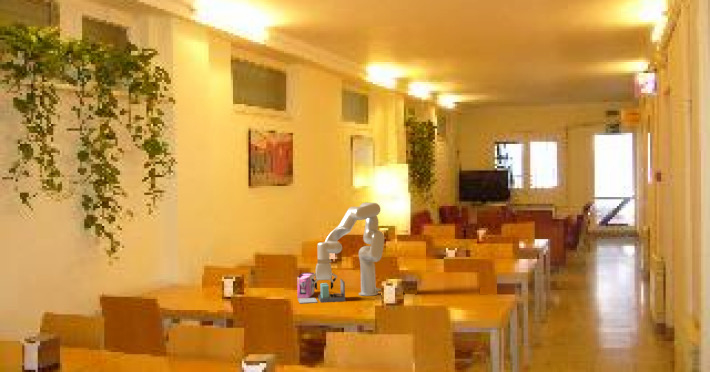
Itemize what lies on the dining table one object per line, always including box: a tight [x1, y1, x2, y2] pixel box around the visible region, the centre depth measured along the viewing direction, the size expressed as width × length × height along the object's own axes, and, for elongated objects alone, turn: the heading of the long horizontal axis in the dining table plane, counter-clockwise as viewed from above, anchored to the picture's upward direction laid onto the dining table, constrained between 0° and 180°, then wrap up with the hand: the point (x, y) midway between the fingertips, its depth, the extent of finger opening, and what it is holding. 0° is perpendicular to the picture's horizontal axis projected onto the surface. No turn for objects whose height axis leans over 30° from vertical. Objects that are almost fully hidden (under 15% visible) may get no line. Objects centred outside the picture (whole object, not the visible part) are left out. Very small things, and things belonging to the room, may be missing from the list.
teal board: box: [320, 282, 330, 298], centre depth 514 cm, size 4×12×10 cm, turn 8°
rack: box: [317, 278, 346, 303], centre depth 515 cm, size 15×15×12 cm
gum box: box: [296, 272, 315, 299], centre depth 536 cm, size 24×8×14 cm, turn 174°
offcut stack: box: [332, 292, 343, 298], centre depth 515 cm, size 4×12×4 cm, turn 14°
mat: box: [297, 297, 318, 305], centre depth 513 cm, size 11×16×1 cm
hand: (323, 289), depth 514 cm, fingers open, 9 cm apart
